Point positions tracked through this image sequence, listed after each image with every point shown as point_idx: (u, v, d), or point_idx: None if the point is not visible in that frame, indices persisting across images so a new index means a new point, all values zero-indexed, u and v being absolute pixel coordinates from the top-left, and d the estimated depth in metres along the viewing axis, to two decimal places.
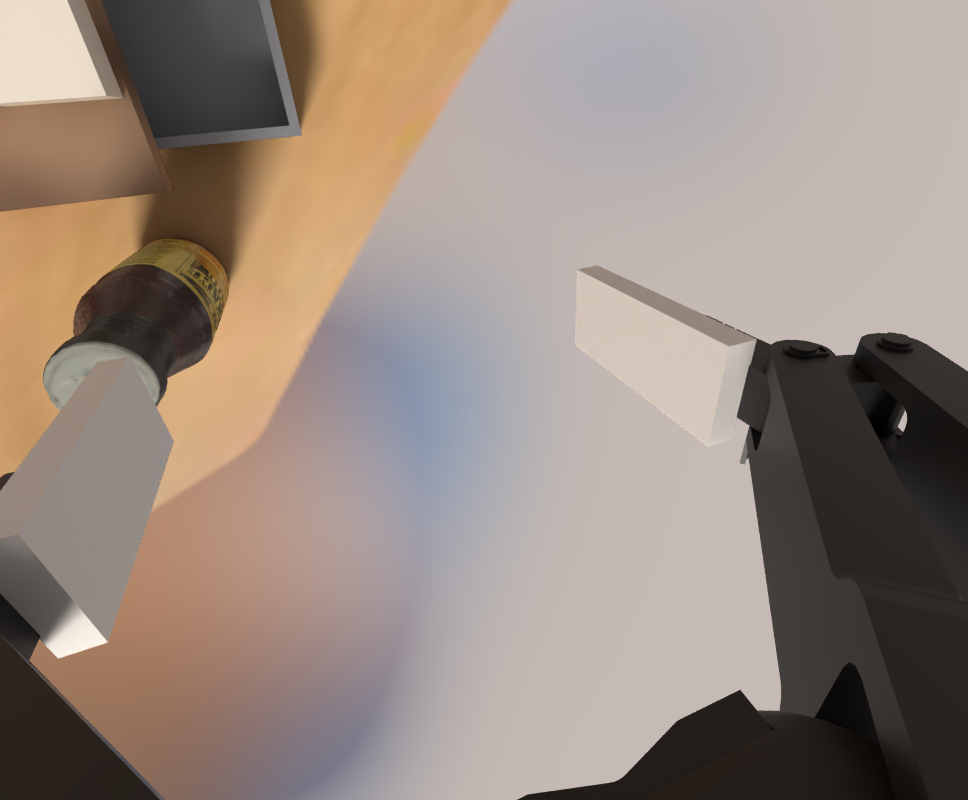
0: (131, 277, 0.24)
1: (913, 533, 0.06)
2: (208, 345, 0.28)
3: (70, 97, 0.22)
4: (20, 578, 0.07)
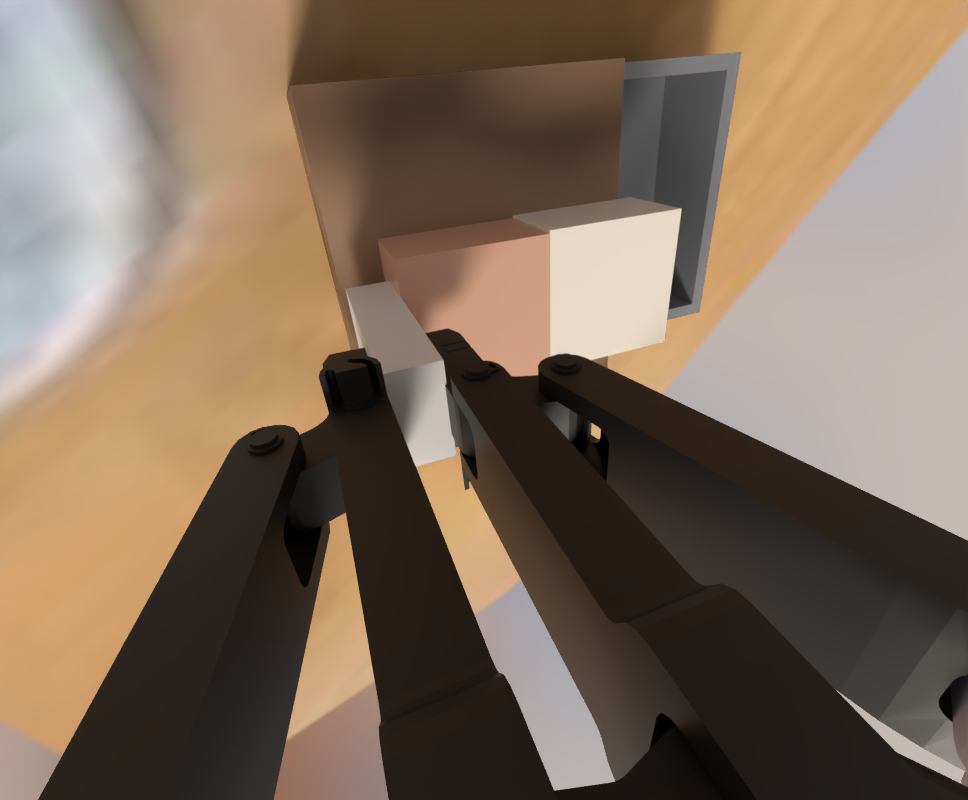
0: None
1: (635, 529, 0.06)
2: None
3: (632, 348, 0.19)
4: (402, 402, 0.11)
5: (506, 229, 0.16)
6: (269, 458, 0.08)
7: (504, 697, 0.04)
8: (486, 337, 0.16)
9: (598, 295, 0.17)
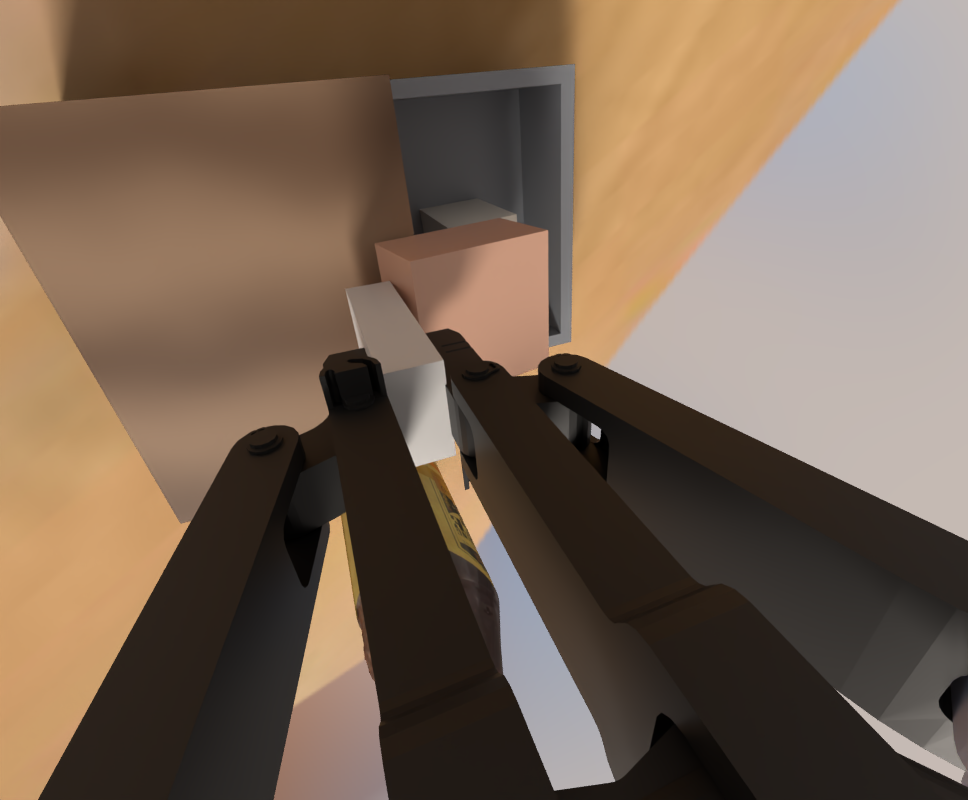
0: None
1: (635, 529, 0.06)
2: None
3: None
4: (402, 402, 0.11)
5: (502, 228, 0.17)
6: (269, 458, 0.08)
7: (504, 697, 0.04)
8: (493, 333, 0.17)
9: None
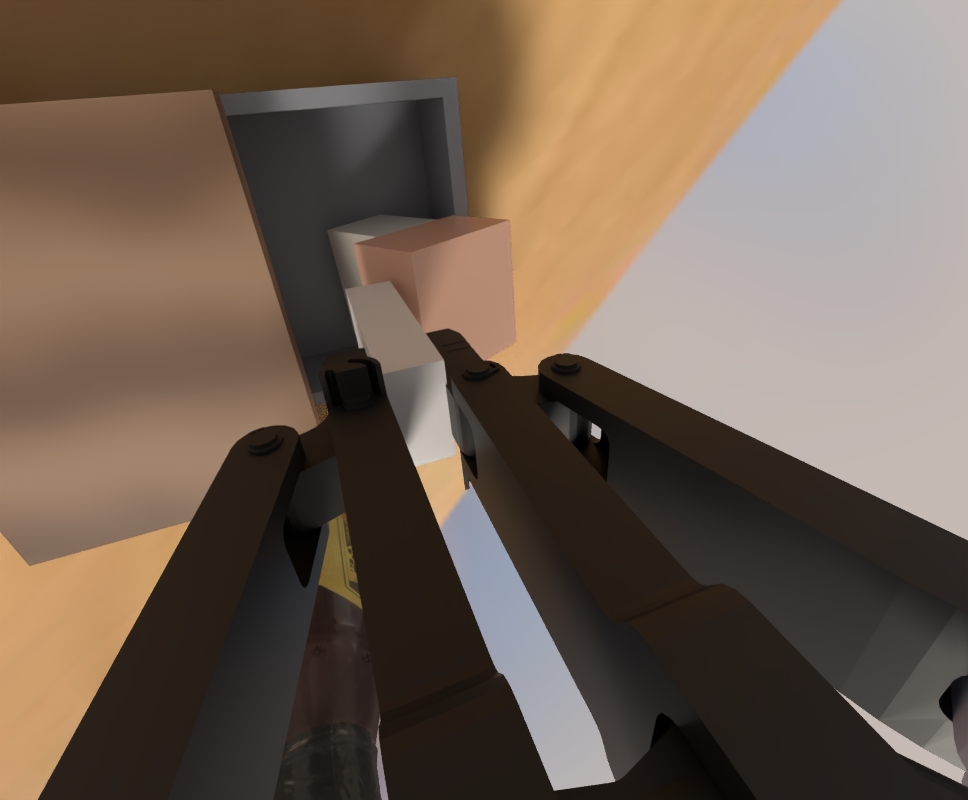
0: (313, 646, 0.18)
1: (635, 529, 0.06)
2: None
3: None
4: (401, 402, 0.11)
5: (466, 222, 0.18)
6: (269, 458, 0.08)
7: (504, 697, 0.04)
8: (475, 316, 0.18)
9: None
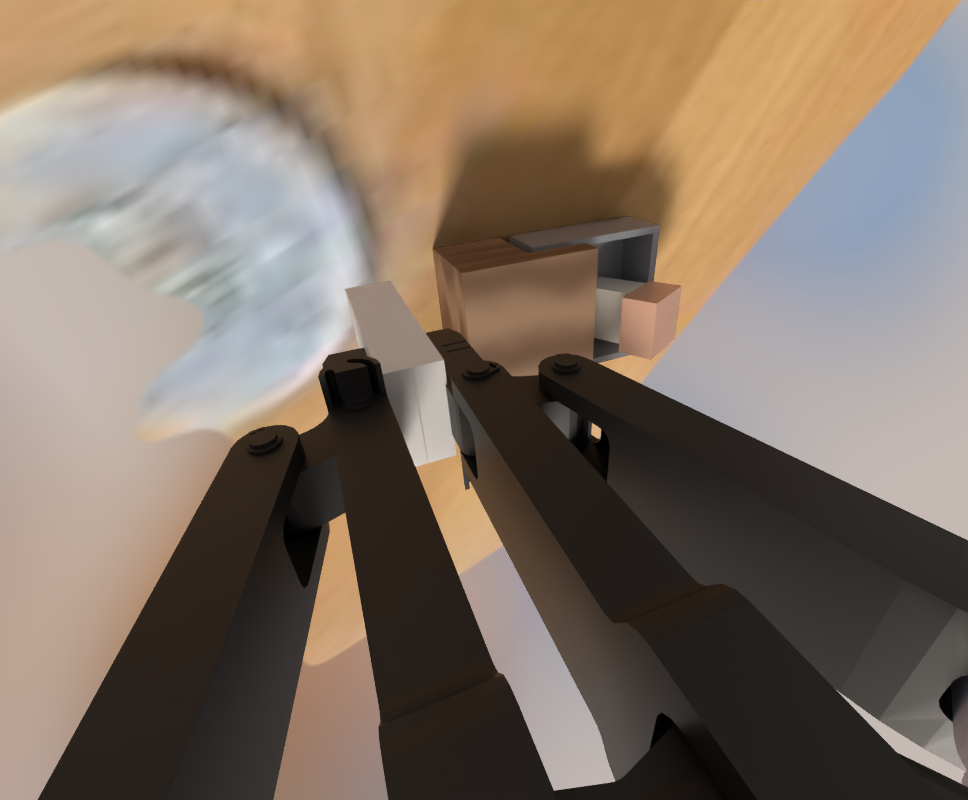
0: None
1: (636, 529, 0.06)
2: None
3: None
4: (401, 402, 0.11)
5: (661, 286, 0.42)
6: (269, 458, 0.08)
7: (504, 697, 0.04)
8: (666, 327, 0.42)
9: None
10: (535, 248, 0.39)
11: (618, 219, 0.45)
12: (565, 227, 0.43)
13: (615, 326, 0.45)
